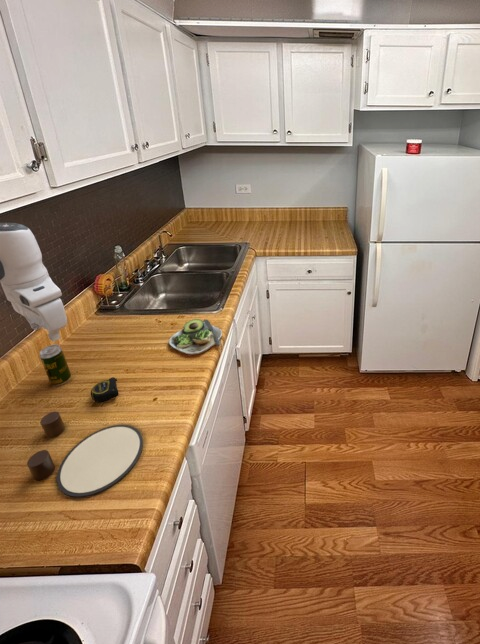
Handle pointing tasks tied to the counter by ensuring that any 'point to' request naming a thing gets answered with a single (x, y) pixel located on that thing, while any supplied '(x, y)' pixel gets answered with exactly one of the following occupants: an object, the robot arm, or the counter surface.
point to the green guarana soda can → (55, 365)
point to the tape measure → (104, 391)
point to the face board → (99, 461)
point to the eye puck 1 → (52, 424)
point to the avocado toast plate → (196, 337)
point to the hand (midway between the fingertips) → (46, 333)
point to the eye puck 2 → (41, 465)
